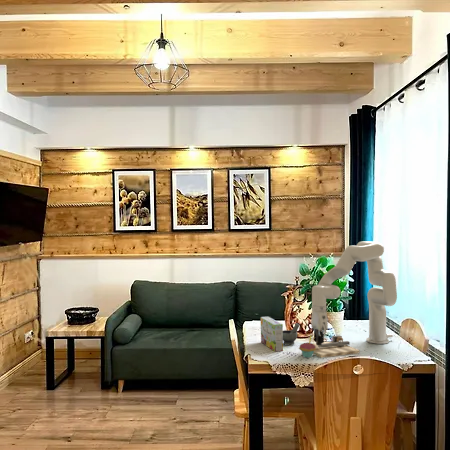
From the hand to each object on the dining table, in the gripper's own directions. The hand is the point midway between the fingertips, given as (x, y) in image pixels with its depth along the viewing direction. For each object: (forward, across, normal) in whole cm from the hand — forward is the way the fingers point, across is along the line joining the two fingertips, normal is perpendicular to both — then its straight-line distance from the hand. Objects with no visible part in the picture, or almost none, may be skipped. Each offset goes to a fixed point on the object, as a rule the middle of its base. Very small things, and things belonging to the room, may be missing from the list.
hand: (318, 341), depth 288 cm
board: (+5, 0, -6) cm, 8 cm away
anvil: (+4, +9, -18) cm, 20 cm away
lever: (+3, 0, -9) cm, 9 cm away
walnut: (+4, +6, -17) cm, 19 cm away
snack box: (+6, +19, +19) cm, 28 cm away
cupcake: (+5, -6, +11) cm, 13 cm away
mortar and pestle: (+5, +20, +7) cm, 22 cm away
